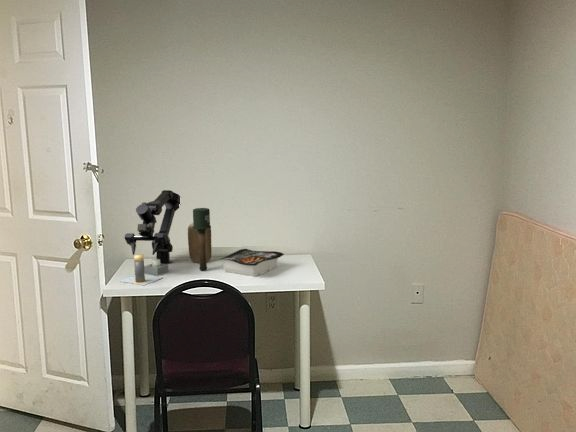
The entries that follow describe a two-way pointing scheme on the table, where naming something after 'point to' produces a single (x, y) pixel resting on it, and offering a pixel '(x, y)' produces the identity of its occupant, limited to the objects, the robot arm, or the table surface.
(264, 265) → the food packaging
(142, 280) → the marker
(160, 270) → the button housing
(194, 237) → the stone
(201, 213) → the potato masher grenade
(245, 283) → the table surface
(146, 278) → the worksheet
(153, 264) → the button cap
